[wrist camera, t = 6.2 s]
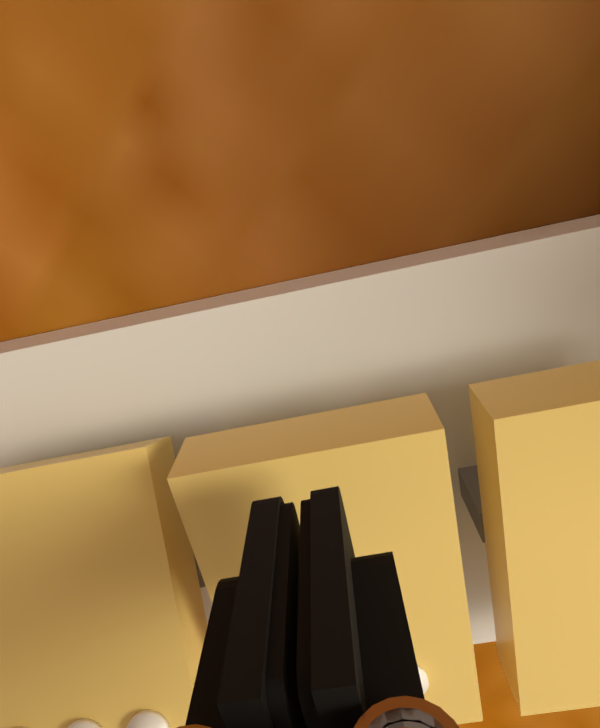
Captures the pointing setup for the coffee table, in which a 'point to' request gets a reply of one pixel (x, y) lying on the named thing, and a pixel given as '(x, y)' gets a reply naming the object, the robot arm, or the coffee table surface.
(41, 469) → the key
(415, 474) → the key
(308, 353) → the board
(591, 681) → the key
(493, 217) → the coffee table surface
